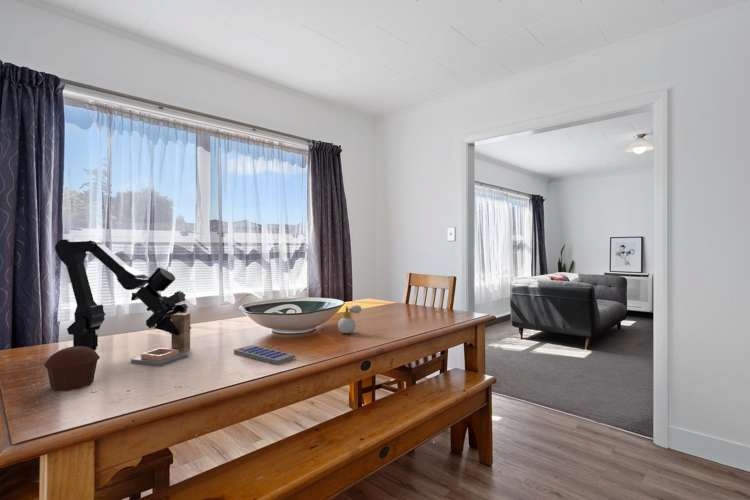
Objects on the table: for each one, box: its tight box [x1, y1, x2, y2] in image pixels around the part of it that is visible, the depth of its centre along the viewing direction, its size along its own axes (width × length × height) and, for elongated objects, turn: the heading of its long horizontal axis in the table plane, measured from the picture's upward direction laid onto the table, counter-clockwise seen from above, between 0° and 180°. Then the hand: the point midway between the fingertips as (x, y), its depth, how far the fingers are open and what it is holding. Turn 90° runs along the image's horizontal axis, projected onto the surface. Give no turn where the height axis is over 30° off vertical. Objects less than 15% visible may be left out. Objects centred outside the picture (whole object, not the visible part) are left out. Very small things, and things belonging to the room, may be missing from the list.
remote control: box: [233, 345, 296, 366], centre depth 132 cm, size 8×23×2 cm, turn 57°
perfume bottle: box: [337, 304, 362, 335], centre depth 167 cm, size 8×10×12 cm
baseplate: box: [130, 347, 189, 367], centre depth 127 cm, size 12×11×2 cm
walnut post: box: [171, 312, 191, 353], centre depth 137 cm, size 4×4×13 cm
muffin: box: [43, 346, 101, 392], centre depth 103 cm, size 12×11×10 cm
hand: (184, 331), depth 137 cm, fingers open, 8 cm apart
